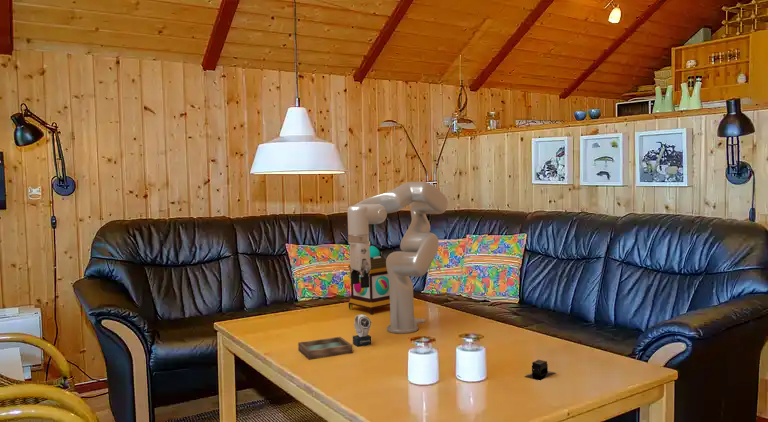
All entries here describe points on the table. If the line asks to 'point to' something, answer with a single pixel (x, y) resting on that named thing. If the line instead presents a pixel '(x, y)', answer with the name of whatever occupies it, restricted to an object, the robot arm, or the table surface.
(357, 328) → the watch
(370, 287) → the decorative lantern
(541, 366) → the black block
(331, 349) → the watch tray
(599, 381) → the table surface
